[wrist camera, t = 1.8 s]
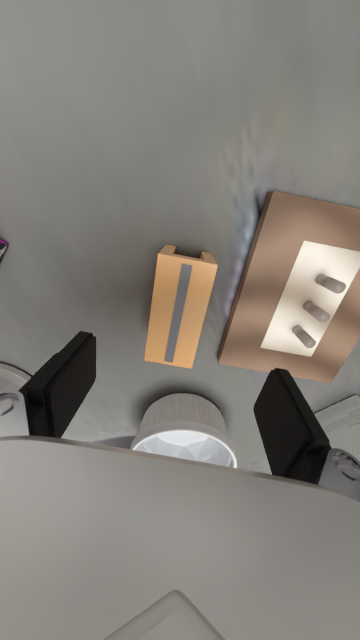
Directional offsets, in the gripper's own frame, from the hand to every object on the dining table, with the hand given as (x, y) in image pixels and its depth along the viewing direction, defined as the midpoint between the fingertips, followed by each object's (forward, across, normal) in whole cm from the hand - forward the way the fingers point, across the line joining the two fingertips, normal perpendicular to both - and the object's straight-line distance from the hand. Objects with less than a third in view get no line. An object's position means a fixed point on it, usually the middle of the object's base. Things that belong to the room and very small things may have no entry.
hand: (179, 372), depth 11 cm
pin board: (+14, -12, -1) cm, 18 cm away
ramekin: (+14, -3, +20) cm, 24 cm away
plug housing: (+14, +1, +1) cm, 14 cm away
